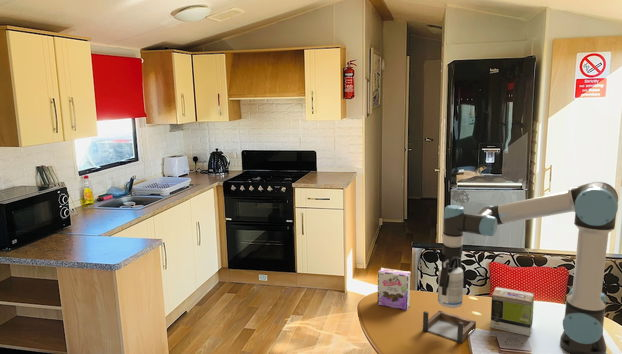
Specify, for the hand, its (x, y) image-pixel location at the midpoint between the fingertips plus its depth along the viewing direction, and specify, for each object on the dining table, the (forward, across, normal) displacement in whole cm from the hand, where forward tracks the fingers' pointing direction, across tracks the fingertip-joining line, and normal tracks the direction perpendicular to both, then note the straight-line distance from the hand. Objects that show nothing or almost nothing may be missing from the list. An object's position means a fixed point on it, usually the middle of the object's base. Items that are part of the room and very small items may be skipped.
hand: (450, 297), depth 191 cm
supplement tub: (+3, 0, 0) cm, 3 cm away
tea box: (+14, -18, +19) cm, 30 cm away
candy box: (+14, -6, -29) cm, 33 cm away
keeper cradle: (+14, 0, 0) cm, 14 cm away
